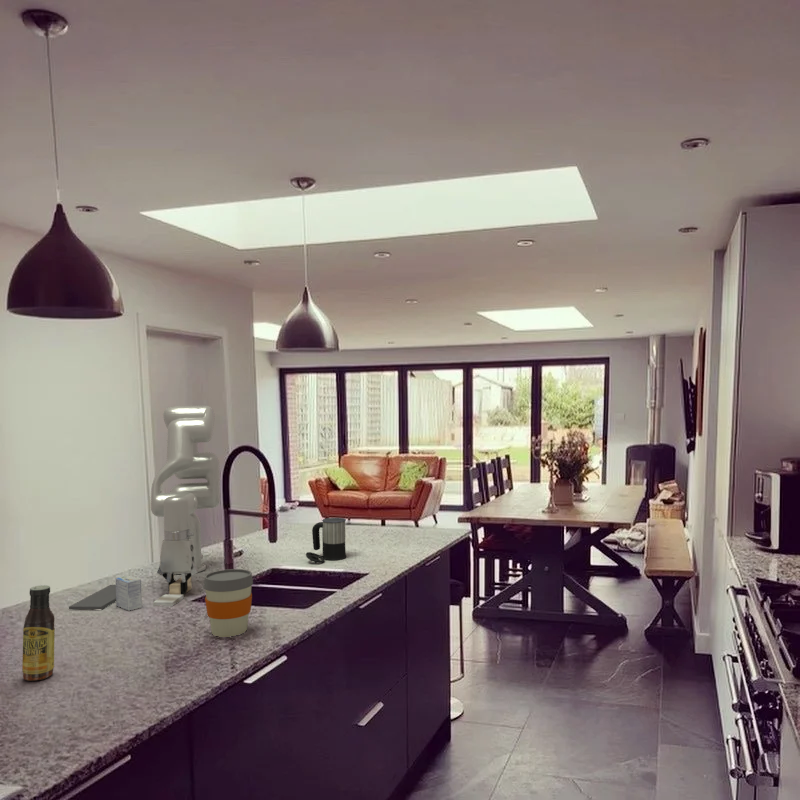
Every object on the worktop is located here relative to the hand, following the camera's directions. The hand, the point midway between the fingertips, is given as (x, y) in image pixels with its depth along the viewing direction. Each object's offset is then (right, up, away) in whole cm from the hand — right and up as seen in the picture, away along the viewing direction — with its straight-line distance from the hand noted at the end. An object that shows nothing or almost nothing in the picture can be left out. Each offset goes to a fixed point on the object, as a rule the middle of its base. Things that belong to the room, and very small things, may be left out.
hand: (178, 593), depth 212 cm
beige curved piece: (0, -1, -2) cm, 2 cm away
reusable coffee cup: (+25, 0, -35) cm, 43 cm away
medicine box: (-11, -1, -11) cm, 16 cm away
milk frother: (+42, 0, +44) cm, 61 cm away
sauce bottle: (-10, -1, -62) cm, 63 cm away
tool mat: (-22, -1, -1) cm, 22 cm away
